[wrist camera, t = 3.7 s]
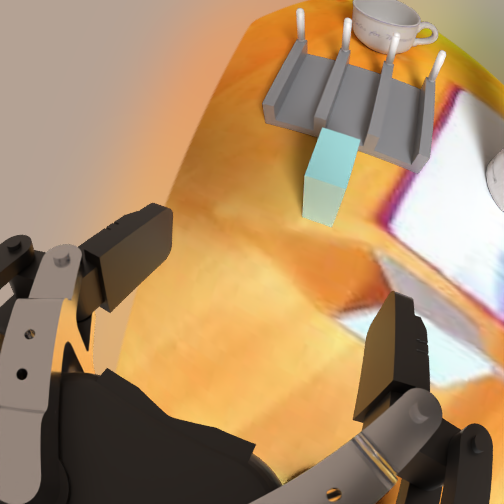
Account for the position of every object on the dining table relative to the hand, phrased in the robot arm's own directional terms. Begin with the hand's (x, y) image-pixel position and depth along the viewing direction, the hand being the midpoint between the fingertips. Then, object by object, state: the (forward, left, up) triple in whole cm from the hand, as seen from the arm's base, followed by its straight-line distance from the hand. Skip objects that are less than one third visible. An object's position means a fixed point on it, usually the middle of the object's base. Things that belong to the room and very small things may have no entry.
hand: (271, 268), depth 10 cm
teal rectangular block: (0, -12, -21) cm, 24 cm away
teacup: (-3, -44, -22) cm, 49 cm away
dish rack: (0, -27, -21) cm, 34 cm away
